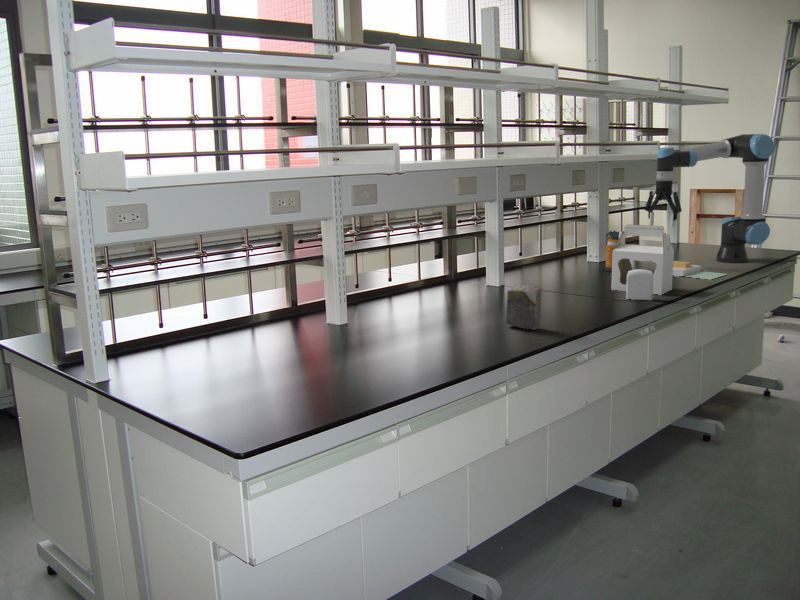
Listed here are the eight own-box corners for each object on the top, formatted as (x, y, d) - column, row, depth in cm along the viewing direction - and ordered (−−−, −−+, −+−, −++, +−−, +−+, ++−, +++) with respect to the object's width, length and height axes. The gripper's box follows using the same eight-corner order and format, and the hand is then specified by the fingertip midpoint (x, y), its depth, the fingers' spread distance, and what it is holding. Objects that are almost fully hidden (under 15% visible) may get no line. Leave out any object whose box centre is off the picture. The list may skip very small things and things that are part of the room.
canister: (612, 273, 355) (614, 232, 351) (598, 270, 365) (600, 230, 361) (628, 272, 358) (629, 231, 354) (613, 268, 368) (615, 229, 364)
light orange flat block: (667, 266, 354) (667, 262, 354) (673, 264, 358) (673, 260, 358) (685, 268, 348) (685, 264, 348) (691, 266, 352) (691, 262, 352)
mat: (702, 272, 353) (702, 271, 353) (727, 274, 345) (727, 274, 345) (685, 277, 341) (685, 276, 341) (710, 280, 333) (710, 279, 333)
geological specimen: (505, 328, 256) (506, 285, 253) (513, 324, 261) (513, 283, 258) (534, 331, 250) (535, 288, 247) (541, 327, 255) (542, 285, 252)
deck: (673, 268, 364) (673, 262, 364) (700, 271, 354) (701, 265, 353) (655, 273, 352) (655, 267, 352) (683, 277, 342) (683, 270, 342)
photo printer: (625, 300, 296) (627, 269, 293) (625, 297, 300) (627, 268, 297) (652, 301, 293) (654, 270, 290) (652, 299, 297) (653, 268, 294)
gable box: (610, 290, 317) (612, 225, 311) (622, 285, 327) (624, 222, 321) (662, 295, 303) (665, 228, 297) (672, 290, 313) (676, 225, 307)
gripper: (638, 180, 358) (636, 225, 362) (683, 181, 341) (680, 228, 346) (646, 179, 362) (644, 223, 367) (691, 180, 346) (688, 226, 351)
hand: (662, 226), depth 356 cm, fingers open, 10 cm apart
